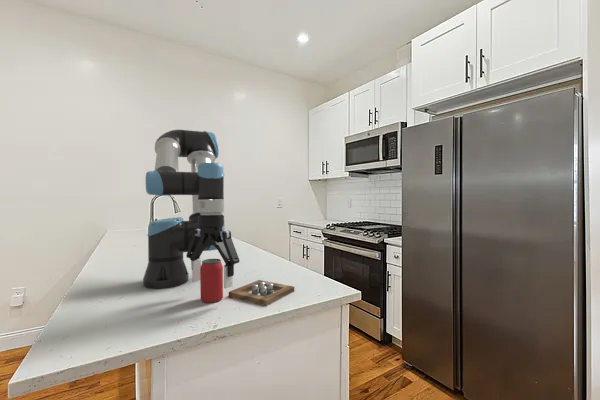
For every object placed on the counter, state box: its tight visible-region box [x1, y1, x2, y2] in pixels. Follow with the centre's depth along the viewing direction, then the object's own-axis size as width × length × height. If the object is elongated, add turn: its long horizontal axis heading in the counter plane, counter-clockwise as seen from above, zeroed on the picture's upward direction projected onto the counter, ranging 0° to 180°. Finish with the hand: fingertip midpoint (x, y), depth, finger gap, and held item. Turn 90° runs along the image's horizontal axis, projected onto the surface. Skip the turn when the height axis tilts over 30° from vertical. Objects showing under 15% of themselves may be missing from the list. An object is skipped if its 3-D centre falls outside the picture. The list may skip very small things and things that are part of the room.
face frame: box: [228, 279, 295, 307], centre depth 95 cm, size 15×15×2 cm
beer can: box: [199, 258, 224, 304], centre depth 90 cm, size 7×7×12 cm
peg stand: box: [251, 282, 274, 296], centre depth 95 cm, size 5×5×3 cm
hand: (211, 284), depth 90 cm, fingers open, 13 cm apart
